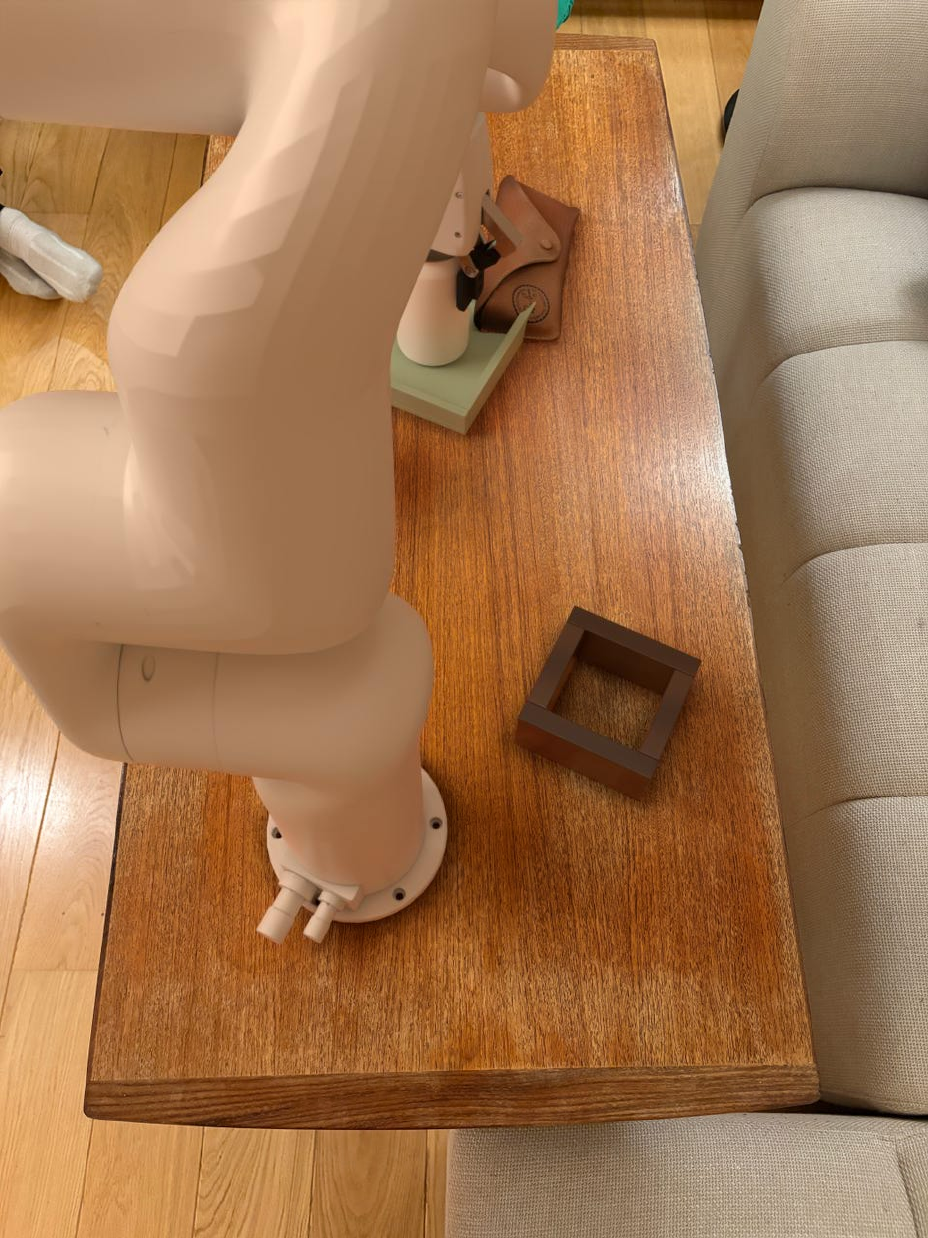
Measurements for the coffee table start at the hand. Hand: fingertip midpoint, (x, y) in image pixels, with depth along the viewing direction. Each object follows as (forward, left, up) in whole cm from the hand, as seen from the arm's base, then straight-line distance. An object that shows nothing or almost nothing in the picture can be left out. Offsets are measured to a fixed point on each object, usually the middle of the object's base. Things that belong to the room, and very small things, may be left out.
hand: (427, 282), depth 85 cm
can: (0, 0, -8) cm, 8 cm away
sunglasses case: (+13, -4, -8) cm, 16 cm away
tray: (0, 0, -8) cm, 8 cm away
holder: (-26, -28, -8) cm, 39 cm away
